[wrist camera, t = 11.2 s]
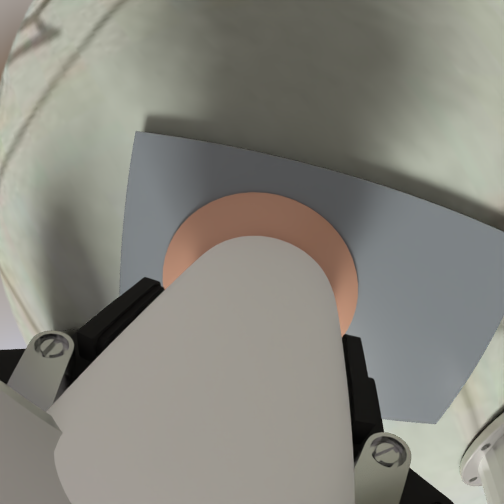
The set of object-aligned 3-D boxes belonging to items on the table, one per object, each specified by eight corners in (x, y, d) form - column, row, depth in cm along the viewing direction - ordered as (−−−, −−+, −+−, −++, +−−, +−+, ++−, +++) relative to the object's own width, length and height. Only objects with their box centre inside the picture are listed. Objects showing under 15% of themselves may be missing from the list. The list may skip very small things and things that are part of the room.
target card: (524, 241, 12) (534, 246, 11) (433, 415, 16) (436, 426, 15) (144, 131, 14) (133, 131, 13) (126, 339, 18) (118, 348, 17)
